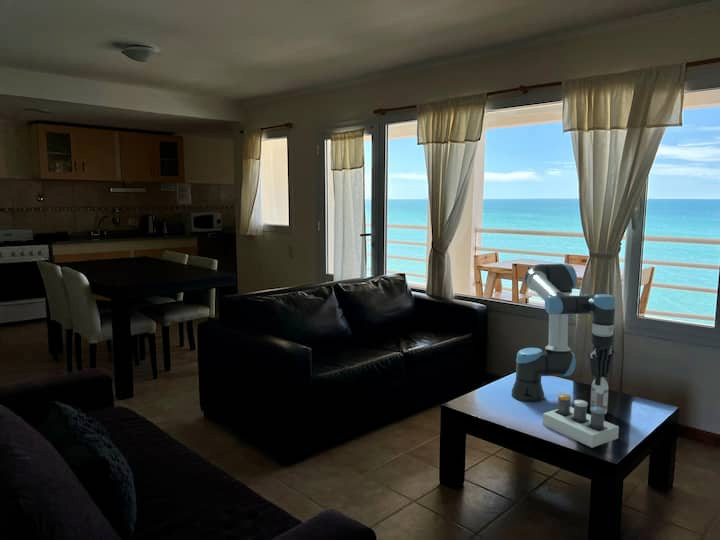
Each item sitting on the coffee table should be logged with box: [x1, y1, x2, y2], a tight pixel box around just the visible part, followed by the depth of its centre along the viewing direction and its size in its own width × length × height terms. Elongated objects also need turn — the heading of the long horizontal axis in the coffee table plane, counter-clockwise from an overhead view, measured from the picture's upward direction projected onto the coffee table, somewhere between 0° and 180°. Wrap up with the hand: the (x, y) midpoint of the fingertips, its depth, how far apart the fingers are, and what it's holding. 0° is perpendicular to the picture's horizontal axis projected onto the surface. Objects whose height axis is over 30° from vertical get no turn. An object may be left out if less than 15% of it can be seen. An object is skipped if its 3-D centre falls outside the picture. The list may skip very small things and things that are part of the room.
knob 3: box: [590, 407, 606, 431], centre depth 204 cm, size 5×5×8 cm
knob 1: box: [557, 393, 572, 416], centre depth 218 cm, size 5×5×8 cm
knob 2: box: [573, 399, 589, 423], centre depth 211 cm, size 5×5×8 cm
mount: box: [542, 406, 620, 448], centre depth 211 cm, size 24×16×5 cm, turn 29°
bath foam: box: [589, 378, 609, 415], centre depth 230 cm, size 7×7×20 cm
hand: (599, 392), depth 202 cm, fingers closed
